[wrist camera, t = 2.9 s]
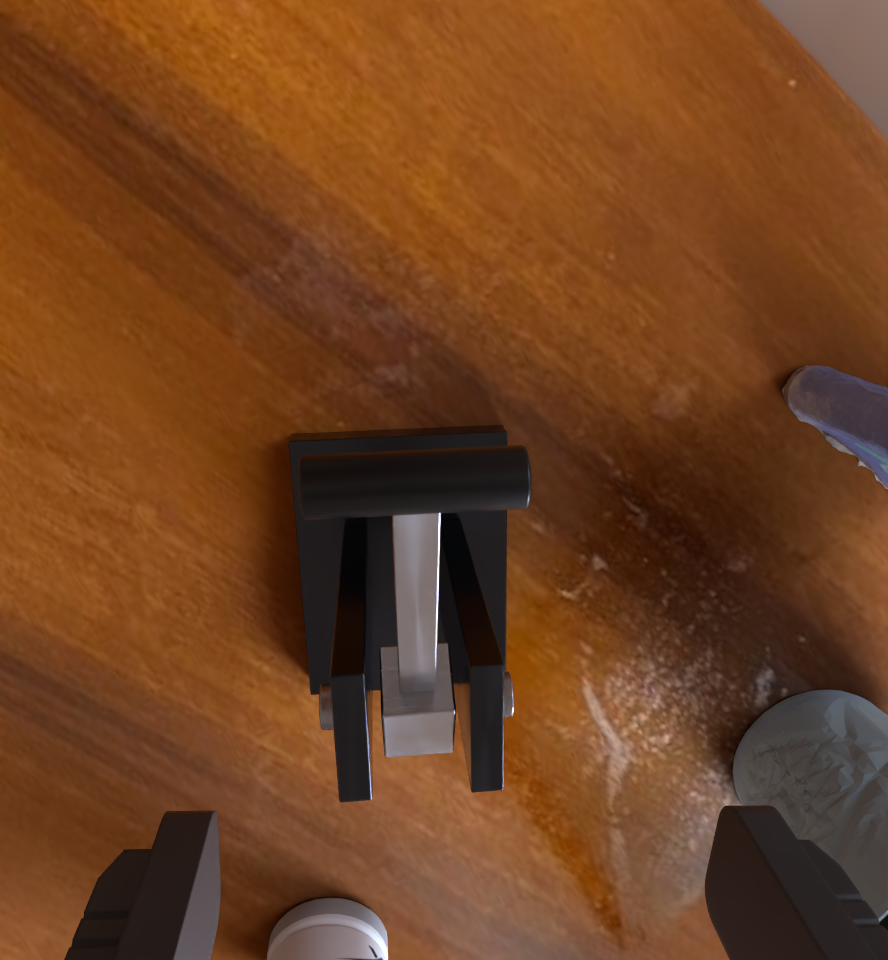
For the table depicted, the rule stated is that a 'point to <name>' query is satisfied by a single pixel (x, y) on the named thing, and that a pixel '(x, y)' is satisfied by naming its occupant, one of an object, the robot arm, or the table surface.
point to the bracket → (372, 617)
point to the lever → (415, 562)
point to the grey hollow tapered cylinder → (825, 780)
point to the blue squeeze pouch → (843, 413)
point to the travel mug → (329, 932)
